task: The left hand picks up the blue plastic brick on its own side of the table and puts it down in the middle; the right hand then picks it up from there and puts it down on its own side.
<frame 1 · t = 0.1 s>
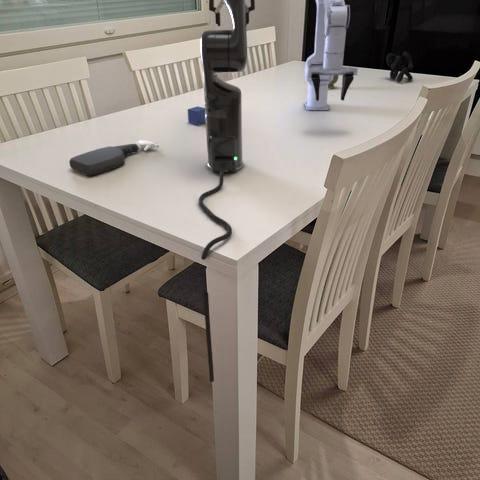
left hand: (232, 25, 142), 29 cm above the table, tool pointing down, fingers open, 8 cm apart
right hand: (329, 99, 137), 10 cm above the table, tool pointing down, fingers open, 7 cm apart
squiggle: (399, 80, 200), on the table
spray bottle: (117, 159, 125), on the table
olive rounded piece: (329, 88, 191), on the table
brick: (197, 122, 153), on the table
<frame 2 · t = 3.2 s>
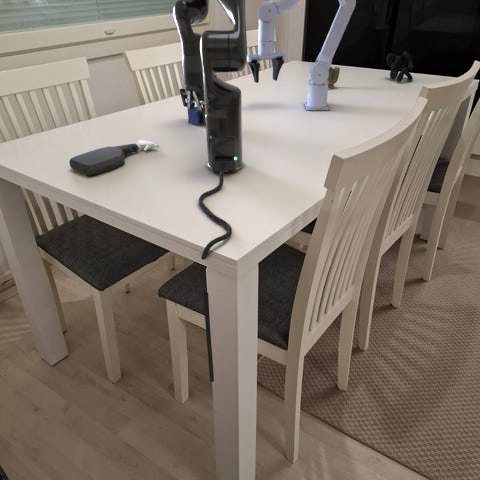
left hand: (197, 121, 152), 1 cm above the table, tool pointing down, fingers closed on brick, 4 cm apart
right hand: (265, 81, 162), 9 cm above the table, tool pointing down, fingers open, 7 cm apart
brick: (197, 122, 153), on the table, touching left hand
everything else where it was.
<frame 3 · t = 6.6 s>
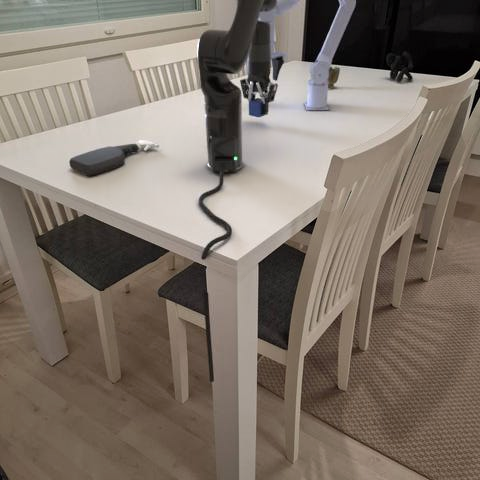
left hand: (258, 113, 148), 4 cm above the table, tool pointing down, fingers closed on brick, 4 cm apart
right hand: (265, 81, 162), 9 cm above the table, tool pointing down, fingers open, 7 cm apart
brick: (258, 114, 148), point 3 cm above the table, touching left hand
everything else where it was.
when the left hand's fingers open (2 cm above the table, at t = 10.1 s): brick drops 1 cm, on the table.
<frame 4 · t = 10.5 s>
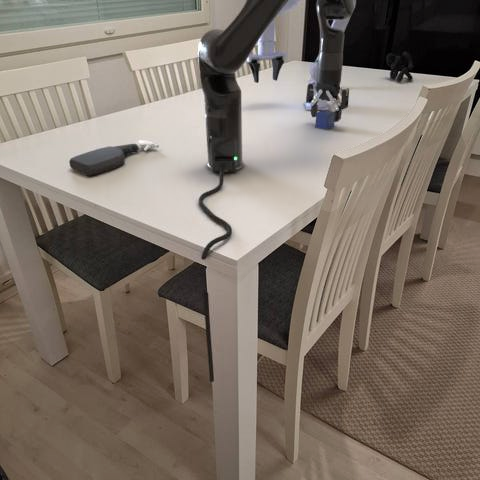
left hand: (325, 119, 145), 3 cm above the table, tool pointing down, fingers open, 8 cm apart
right hand: (265, 81, 162), 9 cm above the table, tool pointing down, fingers open, 7 cm apart
brick: (324, 126, 147), on the table
everything else where it was.
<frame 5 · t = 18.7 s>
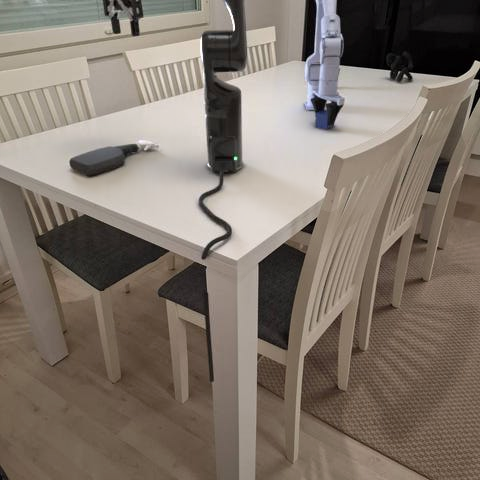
left hand: (126, 34, 124), 30 cm above the table, tool pointing down, fingers open, 8 cm apart
right hand: (325, 122, 146), 1 cm above the table, tool pointing down, fingers closed on brick, 5 cm apart
brick: (324, 126, 147), on the table, touching right hand
everything else where it was.
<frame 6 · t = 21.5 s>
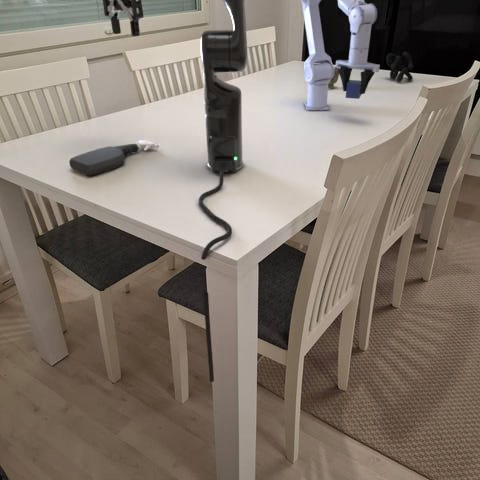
left hand: (126, 34, 124), 30 cm above the table, tool pointing down, fingers open, 8 cm apart
right hand: (354, 92, 147), 9 cm above the table, tool pointing down, fingers closed on brick, 5 cm apart
brick: (353, 96, 148), point 8 cm above the table, touching right hand
everything else where it was.
when the right hand's fingers open (3 cm above the table, at t = 24.8 s): brick drops 1 cm, on the table.
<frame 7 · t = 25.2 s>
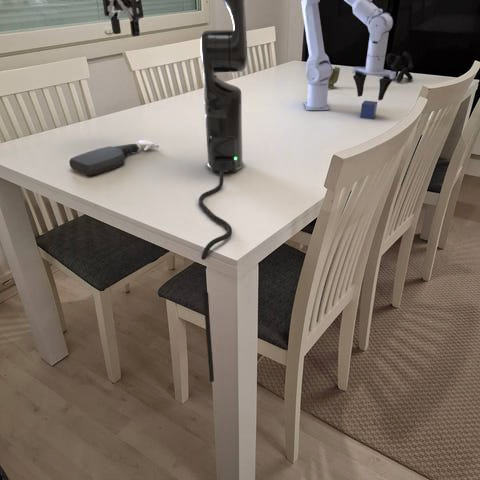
left hand: (126, 34, 124), 30 cm above the table, tool pointing down, fingers open, 8 cm apart
right hand: (370, 97, 152), 6 cm above the table, tool pointing down, fingers open, 7 cm apart
brick: (367, 116, 155), on the table
everything else where it was.
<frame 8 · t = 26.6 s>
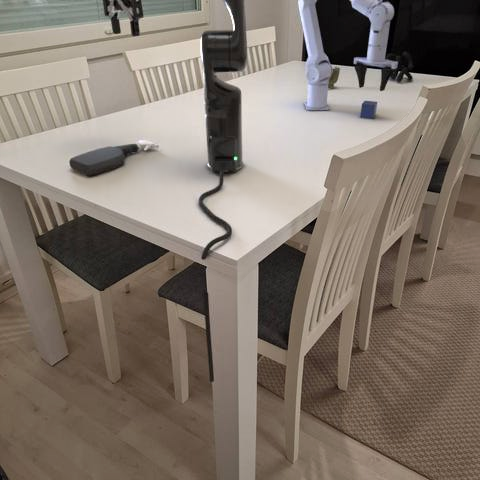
left hand: (126, 34, 124), 30 cm above the table, tool pointing down, fingers open, 8 cm apart
right hand: (371, 88, 150), 9 cm above the table, tool pointing down, fingers open, 7 cm apart
nothing on the table moved.
at the end: brick inside the target area (0.0 cm from its centre), on the table; brick tilted 0°; the two hands never held the brick at the same time; the left hand is holding nothing; the right hand is holding nothing; brick at rest at the end (0.0 cm/s) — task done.
